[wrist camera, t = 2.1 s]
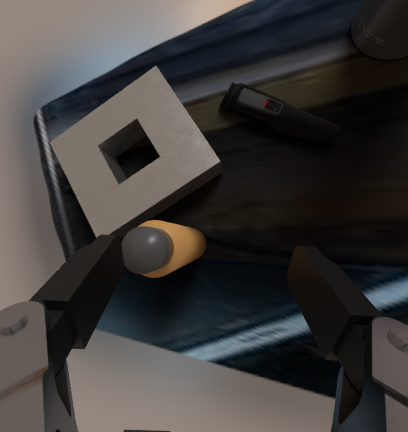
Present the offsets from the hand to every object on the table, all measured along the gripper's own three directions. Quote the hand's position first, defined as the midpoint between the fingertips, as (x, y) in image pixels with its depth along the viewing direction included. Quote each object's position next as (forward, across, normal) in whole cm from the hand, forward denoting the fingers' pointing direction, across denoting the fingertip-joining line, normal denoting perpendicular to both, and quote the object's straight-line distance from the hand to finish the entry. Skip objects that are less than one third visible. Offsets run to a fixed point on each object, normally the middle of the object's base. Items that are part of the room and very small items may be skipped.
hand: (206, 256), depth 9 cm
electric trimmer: (+24, -9, -6) cm, 26 cm away
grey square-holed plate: (+23, +9, +1) cm, 25 cm away
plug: (+15, +1, +10) cm, 18 cm away
